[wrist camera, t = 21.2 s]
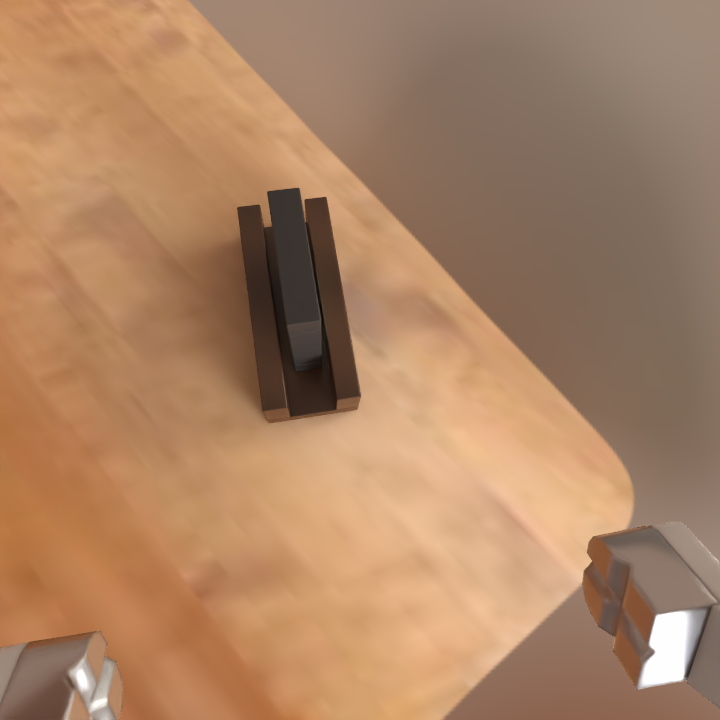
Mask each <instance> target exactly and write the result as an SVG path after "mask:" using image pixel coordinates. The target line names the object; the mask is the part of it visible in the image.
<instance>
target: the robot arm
mask: <svg viewBox="0 0 720 720" xmlns="http://www.w3.org/2000/svg"><path fill="white" fill-rule="evenodd" d="M587 553H588V555H589V557H590V558H591V560H592V562H591V563H590V565H589V566H588V567H587V568H586V569H585V570H584V574H583V583H582V585H583V590H584V595H585V600H586V603H587V605H588V608H589V610H590V613H591V615H592V616H593V618H594V620H595V621H596V623H597V625H598V627H600V628H601V629H603V630H605V631H606V632H608V633H609V634H611V635H612V636H614V637H615V638H614V648H613V652H614V653H615V655H616V656H617V658H618V660H619V662H620V663H621V665H622V666H623V668H624V670H625V671H626V673H627V675H628V676H629V678H630V680H631V681H632V683H633V685H634V686H635V688H636V689H641V688H646V687H652V686H657V685H662V684H668V683H673V682H678V681H684V680H687V684H688V685H690V686H691V687H692V688H694V689H695V690H696V691H697V692H699V693H700V694H702V695H703V696H704V697H706V698H707V699H708V700H709V701H711V702H712V703H713V704H715V705H716V706H717V707H719V708H720V562H719V561H718V560H717V559H716V558H715V557H714V556H713V555H712V554H711V553H710V552H709V550H708V549H707V548H706V547H705V546H704V545H703V544H702V543H701V542H700V541H699V540H698V539H697V538H696V536H695V535H694V534H693V533H692V532H691V531H690V530H689V529H688V528H687V527H686V526H685V525H684V524H682V523H680V522H678V521H672V522H667V523H662V524H657V525H651V526H647V527H646V526H642V527H637V528H633V529H628V530H623V531H618V532H613V533H608V534H603V535H598V536H593V537H592V539H591V540H590V541H589V543H588V549H587ZM107 646H108V643H107V641H106V639H105V637H104V636H103V634H102V632H101V631H95V632H88V633H82V634H76V635H70V636H64V637H57V638H51V639H45V640H39V641H32V642H27V643H21V644H16V645H10V646H4V647H0V720H120V718H121V713H122V707H123V681H122V676H121V671H120V669H119V667H118V664H117V662H116V661H114V660H112V659H110V658H108V657H106V656H105V654H106V650H107Z"/></svg>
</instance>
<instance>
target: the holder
mask: <svg viewBox="0 0 720 720" xmlns="http://www.w3.org/2000/svg"><path fill="white" fill-rule="evenodd" d="M237 210H238V218H239V226H240V234H241V242H242V250H243V258H244V266H245V274H246V282H247V290H248V298H249V306H250V314H251V322H252V330H253V338H254V346H255V354H256V362H257V370H258V378H259V386H260V394H261V402H262V410H263V412H264V414H265V416H266V418H267V420H268V422H269V423H274V422H281V421H287V420H293V419H300V418H306V417H313V416H319V415H325V414H332V413H338V412H345V411H351V410H357V409H358V405H359V402H360V398H361V392H360V386H359V380H358V375H357V369H356V363H355V358H354V352H353V346H352V340H351V335H350V329H349V323H348V318H347V312H346V306H345V300H344V295H343V289H342V283H341V278H340V272H339V266H338V260H337V255H336V249H335V243H334V238H333V232H332V226H331V220H330V215H329V209H328V203H327V198H326V197H321V198H312V199H305V216H306V222H305V225H306V231H307V237H308V243H309V249H310V256H311V262H312V268H313V274H314V280H315V286H316V293H317V299H318V305H319V311H320V317H321V348H322V368H317V369H310V370H303V371H297V372H296V371H295V367H294V362H293V357H292V352H291V346H290V341H289V336H288V331H287V326H286V319H285V312H284V305H283V298H282V291H281V284H280V277H279V270H278V263H277V256H276V249H275V242H274V236H273V229H272V227H264V223H263V219H262V214H261V209H260V205H252V206H243V207H238V208H237Z"/></svg>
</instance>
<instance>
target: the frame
mask: <svg viewBox="0 0 720 720" xmlns="http://www.w3.org/2000/svg"><path fill="white" fill-rule="evenodd" d="M267 194H268V201H269V208H270V215H271V222H272V229H273V236H274V242H275V249H276V256H277V263H278V270H279V277H280V284H281V291H282V298H283V305H284V312H285V319H286V326H287V331H288V336H289V341H290V346H291V352H292V357H293V362H294V367H295V371H296V372H297V371H303V370H310V369H317V368H322V348H321V317H320V311H319V305H318V299H317V293H316V286H315V280H314V274H313V268H312V262H311V256H310V249H309V243H308V237H307V231H306V225H305V219H304V212H303V206H302V200H301V194H300V189H299V188H293V189H284V190H275V191H268V192H267Z"/></svg>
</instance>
